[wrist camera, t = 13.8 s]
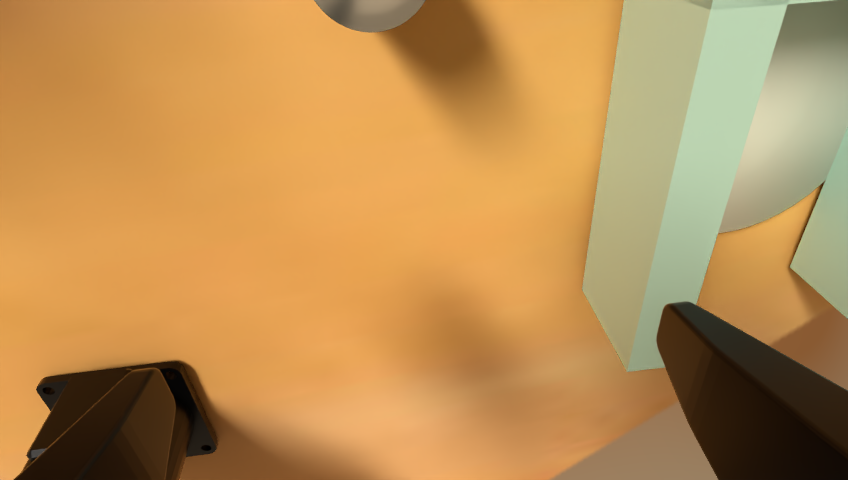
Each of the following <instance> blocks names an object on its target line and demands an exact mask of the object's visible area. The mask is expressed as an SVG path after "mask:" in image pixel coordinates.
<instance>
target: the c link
mask: <svg viewBox="0 0 848 480" xmlns="http://www.w3.org/2000/svg"><path fill="white" fill-rule="evenodd" d="M821 1H834V0H624V3H623V10H622V17H621V24H620V31H619V38H618V45H617V52H616V58H615V65H614V72H613V79H612V86H611V93H610V100H609V107H608V114H607V120H606V127H605V134H604V141H603V148H602V155H601V162H600V169H599V176H598V183H597V189H596V196H595V203H594V210H593V217H592V224H591V231H590V238H589V245H588V252H587V258H586V265H585V272H584V279H583V286H582V291H583V292H584V294H585V296H586V298H587V300H588V301H589V303H590V305H591V307H592V309H593V311H594V312H595V314H596V316H597V318H598V320H599V322H600V323H601V325H602V327H603V329H604V331H605V333H606V334H607V336H608V338H609V340H610V342H611V344H612V345H613V347H614V349H615V351H616V353H617V354H618V356H619V358H620V360H621V362H622V364H623V365H624V367H625V369H626V371H627V372H630V371H639V370H647V369H656V368H664V367H665V365H664V363H663V360H662V358H661V355H660V353H659V350H658V347H657V342H656V337H657V332H658V327H659V323H660V319H661V315H662V311H663V308H664V306H665V305H666V304H669V303H675V302H683V301H688V302H691V303H693V304H695V305H696V304H697V300H698V297H699V294H700V290H701V287H702V284H703V281H704V277H705V274H706V271H707V267H708V264H709V261H710V258H711V254H712V251H713V248H714V245H715V241H716V238H717V235H718V231H719V228H720V225H721V222H722V218H723V215H724V212H725V208H726V205H727V202H728V199H729V195H730V192H731V189H732V185H733V182H734V179H735V176H736V172H737V169H738V166H739V163H740V159H741V156H742V153H743V149H744V146H745V143H746V140H747V136H748V133H749V130H750V126H751V123H752V120H753V117H754V113H755V110H756V107H757V103H758V100H759V97H760V94H761V90H762V87H763V84H764V81H765V77H766V74H767V71H768V67H769V64H770V61H771V58H772V54H773V51H774V48H775V44H776V41H777V38H778V35H779V31H780V28H781V25H782V21H783V18H784V15H785V12H786V8H787V5H788V4H796V3H809V2H821ZM790 268H791V269H793V270H794V271H795V272H796V273H797V274H798V275H799V276H800V277H801V278H803V279H804V280H805V281H806V282H807V283H808V284H809V285H810V286H811V287H813V288H814V289H815V290H816V291H817V292H818V293H819V294H820V295H821V296H823V297H824V298H825V299H826V300H827V301H828V302H829V303H830V304H831V305H833V306H834V307H835V308H836V309H837V310H838V311H839V312H840V313H842V314H843V315H844V316H845V317H846V318H847V319H848V127H847V129H846V132H845V134H844V137H843V139H842V142H841V144H840V146H839V149H838V151H837V154H836V156H835V159H834V161H833V163H832V166H831V168H830V171H829V173H828V176H827V178H826V180H825V183H824V185H823V188H822V190H821V192H820V195H819V197H818V200H817V202H816V205H815V207H814V209H813V212H812V214H811V217H810V219H809V222H808V224H807V226H806V229H805V231H804V234H803V236H802V239H801V241H800V243H799V246H798V248H797V251H796V253H795V256H794V258H793V260H792V263H791V265H790Z"/></svg>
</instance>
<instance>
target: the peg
mask: <svg viewBox="0 0 848 480" xmlns="http://www.w3.org/2000/svg"><path fill="white" fill-rule="evenodd" d="M314 1H315V2H316V4H317V5H318V6H319V7H320V8H321V9H322V11H323V12H325V13H326V14H327V15H328V16H329V17H330V18H332V19H333V20H334V21H336V22H337V23H339V24H341V25H343V26H345V27H347V28H350V29H353V30H357V31H361V32H381V31H386V30H389V29H392V28H395V27H397V26H399V25H401V24H403V23H404V22H406V21H407V20H409V19H410V18H411V17H412V16H413V15H414V14H415V13H416V12H417V11H418V10H419V9H420V8H421V6H422V5H423V3H424V2H425V1H426V0H314Z"/></svg>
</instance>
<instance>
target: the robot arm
mask: <svg viewBox="0 0 848 480" xmlns="http://www.w3.org/2000/svg"><path fill="white" fill-rule="evenodd" d="M656 342H657V347H658V350H659V353H660V355H661V358H662V360H663V363H664V365H665V368H666V370H667V372H668V375H669V377H670V380H671V382H672V385H673V387H674V390H675V392H676V395H677V397H678V400H679V402H680V404H681V407H682V409H683V412H684V414H685V416H686V419H687V421H688V423H689V425H690V427H691V429H692V431H693V433H694V435H695V437H696V439H697V441H698V443H699V444H700V446H701V448H702V450H703V452H704V454H705V456H706V457H707V459H708V461H709V463H710V465H711V467H712V468H713V470H714V472H715V474H716V476H717V478H718V480H848V390H846V389H844V388H842V387H840V386H839V385H837V384H835V383H833V382H832V381H830V380H828V379H826V378H824V377H823V376H821V375H819V374H817V373H815V372H814V371H812V370H810V369H809V368H807V367H805V366H803V365H802V364H800V363H798V362H796V361H794V360H793V359H791V358H789V357H787V356H786V355H784V354H782V353H780V352H778V351H777V350H775V349H773V348H771V347H770V346H768V345H766V344H764V343H763V342H761V341H759V340H757V339H755V338H754V337H752V336H750V335H748V334H747V333H745V332H743V331H741V330H740V329H738V328H736V327H734V326H732V325H731V324H729V323H727V322H725V321H724V320H722V319H720V318H718V317H717V316H715V315H713V314H711V313H709V312H708V311H706V310H704V309H702V308H701V307H699V306H697V305H695V304H693V303H691V302H688V301H683V302H675V303H669V304H666V305H665V306H664V308H663V311H662V315H661V319H660V323H659V327H658V332H657V337H656ZM171 372H173V373H171ZM36 390H37V393H38V394H39V395H40V397H41V398H42V400H43V401H44V402H45V404H46V405H47V407H48V408H49V409H50V411H51V412H50V414H49V416H48V417H47V419H46V421H45V423H44V424H43V426H42V428H41V429H40V431H39V433H38V435H37V436H36V438H35V440H34V442H33V443H32V445H31V447H30V449H29V450H28V452H27V457H28V458H29V460H28V461H27V463H26V465H25V467H24V468H23V470H22V472H21V473H20V474H19V475H18V476H17V477H16V478H15V479H14V480H179V478H180V474H181V471H182V468H183V464H184V461H185V457H189V456H196V455H204V454H210V453H213V452H215V451H216V449H217V445H218V440H217V437H216V435H215V433H214V431H213V429H212V427H211V425H210V422H209V420H208V418H207V416H206V414H205V412H204V410H203V407H202V405H201V403H200V401H199V399H198V397H197V395H196V392H195V390H194V388H193V386H192V384H191V382H190V379H189V377H188V375H187V373H186V371H185V369H184V367H183V366H182V365H181V364H179V363H177V362H162V363H154V364H146V365H138V366H130V367H122V368H114V369H106V370H98V371H90V372H82V373H74V374H66V375H58V376H50V377H45V378H43V379H42V380H41V381H40V383H39V384H38V386H37V389H36Z"/></svg>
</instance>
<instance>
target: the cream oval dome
mask: <svg viewBox="0 0 848 480" xmlns="http://www.w3.org/2000/svg"><path fill="white" fill-rule="evenodd" d="M847 127H848V0H834V1H821V2H809V3H796V4H788V5H787V8H786V12H785V15H784V18H783V21H782V25H781V28H780V31H779V35H778V38H777V41H776V44H775V48H774V51H773V54H772V58H771V61H770V64H769V67H768V71H767V74H766V77H765V81H764V84H763V87H762V90H761V94H760V97H759V100H758V103H757V107H756V110H755V113H754V117H753V120H752V123H751V126H750V130H749V133H748V136H747V140H746V143H745V146H744V149H743V153H742V156H741V159H740V163H739V166H738V169H737V172H736V176H735V179H734V182H733V185H732V189H731V192H730V195H729V199H728V202H727V205H726V208H725V212H724V215H723V218H722V222H721V225H720V228H719V231H718V233H723V232H729V231H735V230H738V229H742V228H746V227H749V226H752V225H755V224H757V223H760V222H762V221H765V220H767V219H769V218H771V217H773V216H775V215H777V214H779V213H781V212H783V211H784V210H786V209H788V208H790V207H791V206H793V205H795V204H796V203H797V202H799V201H800V200H802V199H803V198H804V197H806V196H807V195H809V194H810V193H811V192H812V191H813V190H815V189H816V188H817V187H818V186H819V185H821V184H822V183H823V182H824V181H825V180H826V178H827V176H828V173H829V171H830V168H831V166H832V163H833V161H834V159H835V156H836V154H837V151H838V149H839V146H840V144H841V142H842V139H843V137H844V134H845V132H846V129H847Z"/></svg>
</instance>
